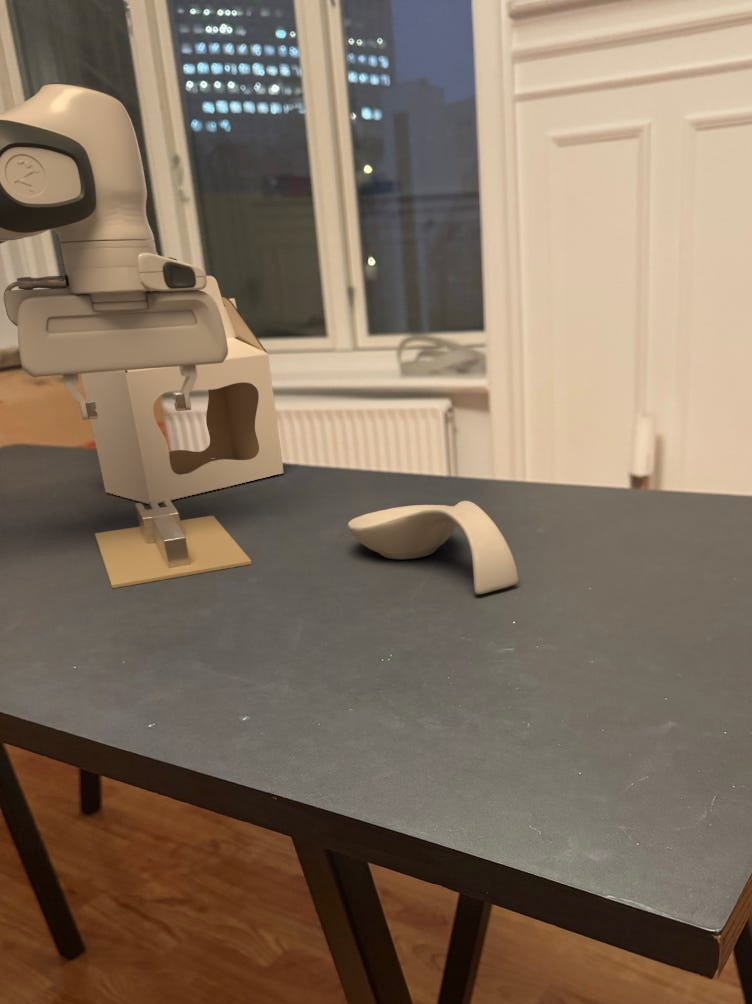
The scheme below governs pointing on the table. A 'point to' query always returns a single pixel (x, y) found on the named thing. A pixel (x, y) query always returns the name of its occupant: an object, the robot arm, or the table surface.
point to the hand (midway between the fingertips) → (137, 414)
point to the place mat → (145, 562)
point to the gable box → (230, 421)
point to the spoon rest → (440, 538)
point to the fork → (164, 531)
